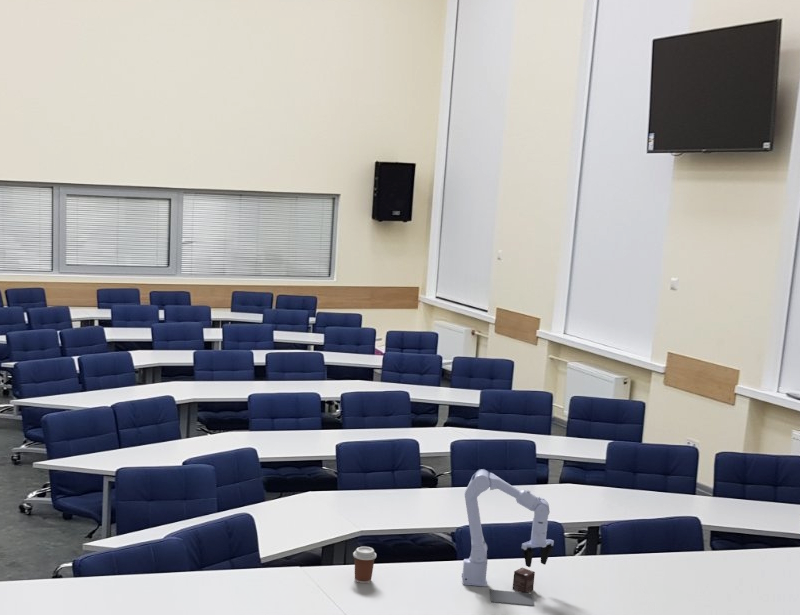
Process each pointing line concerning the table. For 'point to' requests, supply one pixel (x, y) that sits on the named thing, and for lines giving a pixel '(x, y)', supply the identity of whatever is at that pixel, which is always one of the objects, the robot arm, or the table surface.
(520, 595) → the desk mat
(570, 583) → the table surface
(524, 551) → the robot arm
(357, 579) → the coffee cup
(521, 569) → the box
